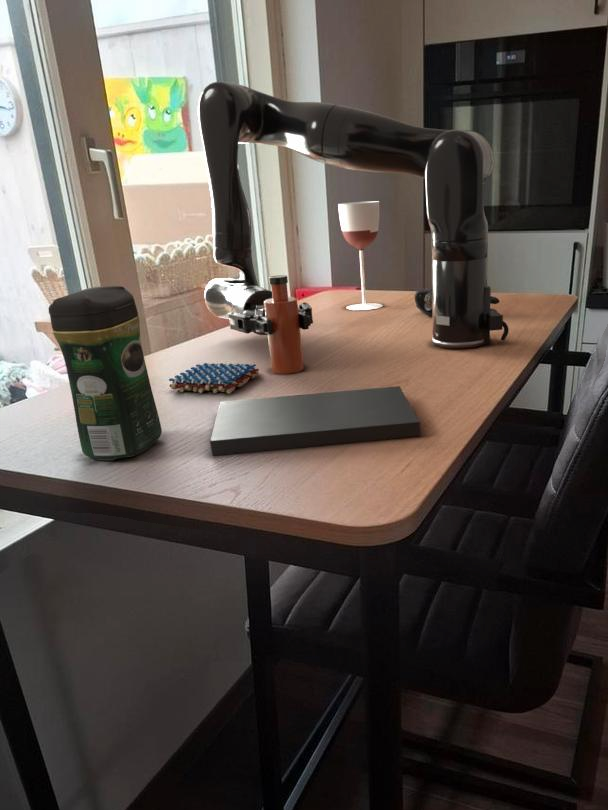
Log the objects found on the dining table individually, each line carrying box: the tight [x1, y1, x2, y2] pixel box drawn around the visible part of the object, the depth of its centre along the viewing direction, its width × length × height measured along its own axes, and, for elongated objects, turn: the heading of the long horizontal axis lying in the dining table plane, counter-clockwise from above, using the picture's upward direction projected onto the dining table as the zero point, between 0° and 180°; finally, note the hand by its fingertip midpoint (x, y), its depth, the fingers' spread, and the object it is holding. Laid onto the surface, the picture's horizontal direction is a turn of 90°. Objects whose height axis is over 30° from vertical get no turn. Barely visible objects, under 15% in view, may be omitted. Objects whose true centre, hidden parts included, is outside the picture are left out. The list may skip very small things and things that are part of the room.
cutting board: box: [209, 385, 421, 456], centre depth 87 cm, size 24×15×2 cm, turn 96°
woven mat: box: [168, 362, 260, 395], centre depth 107 cm, size 10×11×2 cm
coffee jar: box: [48, 285, 163, 461], centre depth 80 cm, size 10×8×19 cm
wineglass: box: [337, 200, 384, 311], centre depth 155 cm, size 9×10×22 cm
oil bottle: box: [264, 274, 305, 375], centre depth 109 cm, size 5×5×14 cm
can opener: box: [414, 288, 501, 317], centre depth 143 cm, size 18×7×6 cm, turn 67°
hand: (288, 325), depth 107 cm, fingers closed on oil bottle, 5 cm apart
